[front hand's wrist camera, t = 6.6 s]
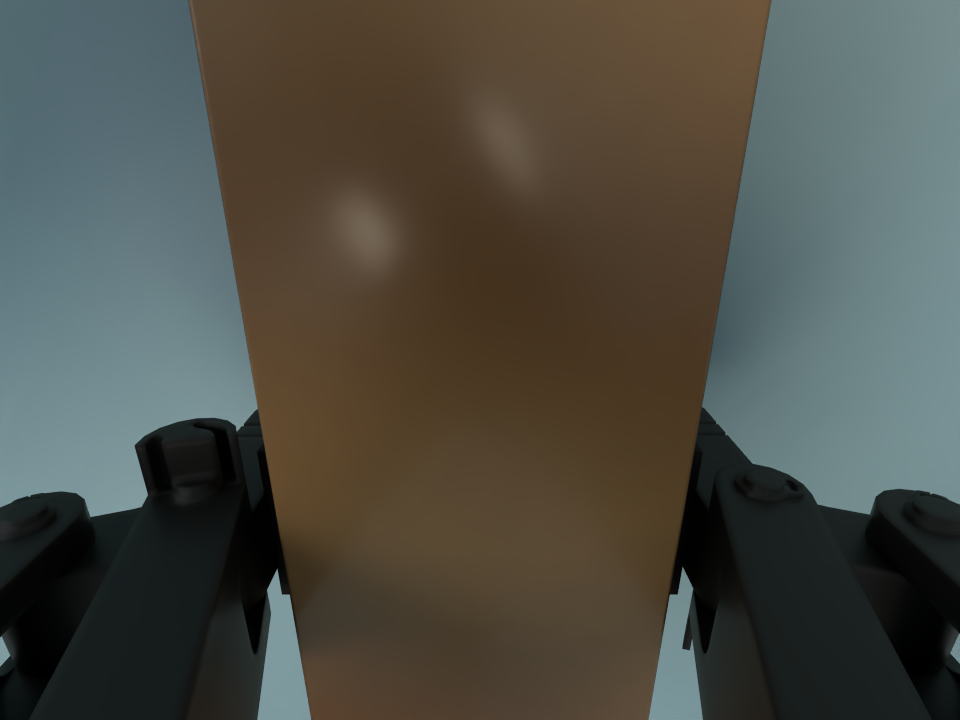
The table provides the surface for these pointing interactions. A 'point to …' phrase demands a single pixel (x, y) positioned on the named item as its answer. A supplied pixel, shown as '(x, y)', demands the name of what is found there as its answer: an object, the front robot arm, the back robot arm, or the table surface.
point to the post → (479, 327)
